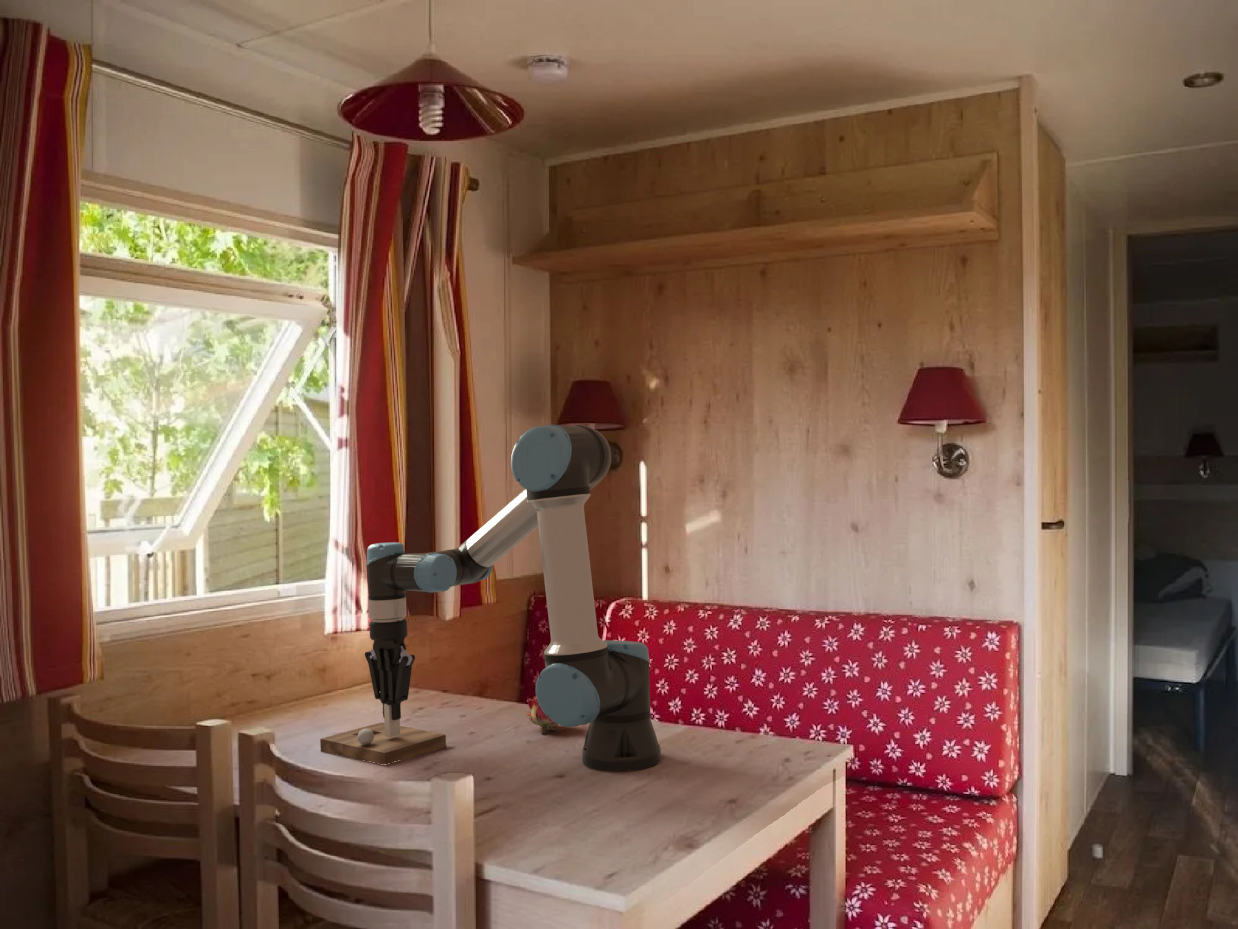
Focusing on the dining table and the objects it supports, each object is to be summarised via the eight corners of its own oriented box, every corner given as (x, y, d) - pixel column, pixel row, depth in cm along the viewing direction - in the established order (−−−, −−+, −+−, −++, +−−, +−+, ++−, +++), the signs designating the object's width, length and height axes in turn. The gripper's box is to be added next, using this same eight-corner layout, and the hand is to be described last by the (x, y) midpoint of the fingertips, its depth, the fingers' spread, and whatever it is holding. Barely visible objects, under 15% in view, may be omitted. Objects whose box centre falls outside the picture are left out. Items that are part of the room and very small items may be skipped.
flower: (564, 730, 231) (570, 694, 235) (520, 722, 231) (528, 686, 235) (562, 746, 239) (568, 711, 243) (520, 738, 239) (527, 703, 243)
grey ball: (377, 744, 221) (377, 728, 221) (364, 747, 218) (364, 731, 218) (367, 742, 223) (366, 726, 223) (354, 745, 220) (353, 729, 220)
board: (446, 747, 227) (445, 734, 226) (385, 765, 214) (384, 753, 214) (381, 733, 239) (381, 722, 239) (320, 751, 226) (320, 738, 226)
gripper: (423, 618, 223) (428, 735, 223) (381, 614, 231) (386, 727, 232) (395, 623, 217) (399, 743, 218) (352, 619, 225) (357, 735, 226)
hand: (392, 735), depth 225 cm, fingers closed
